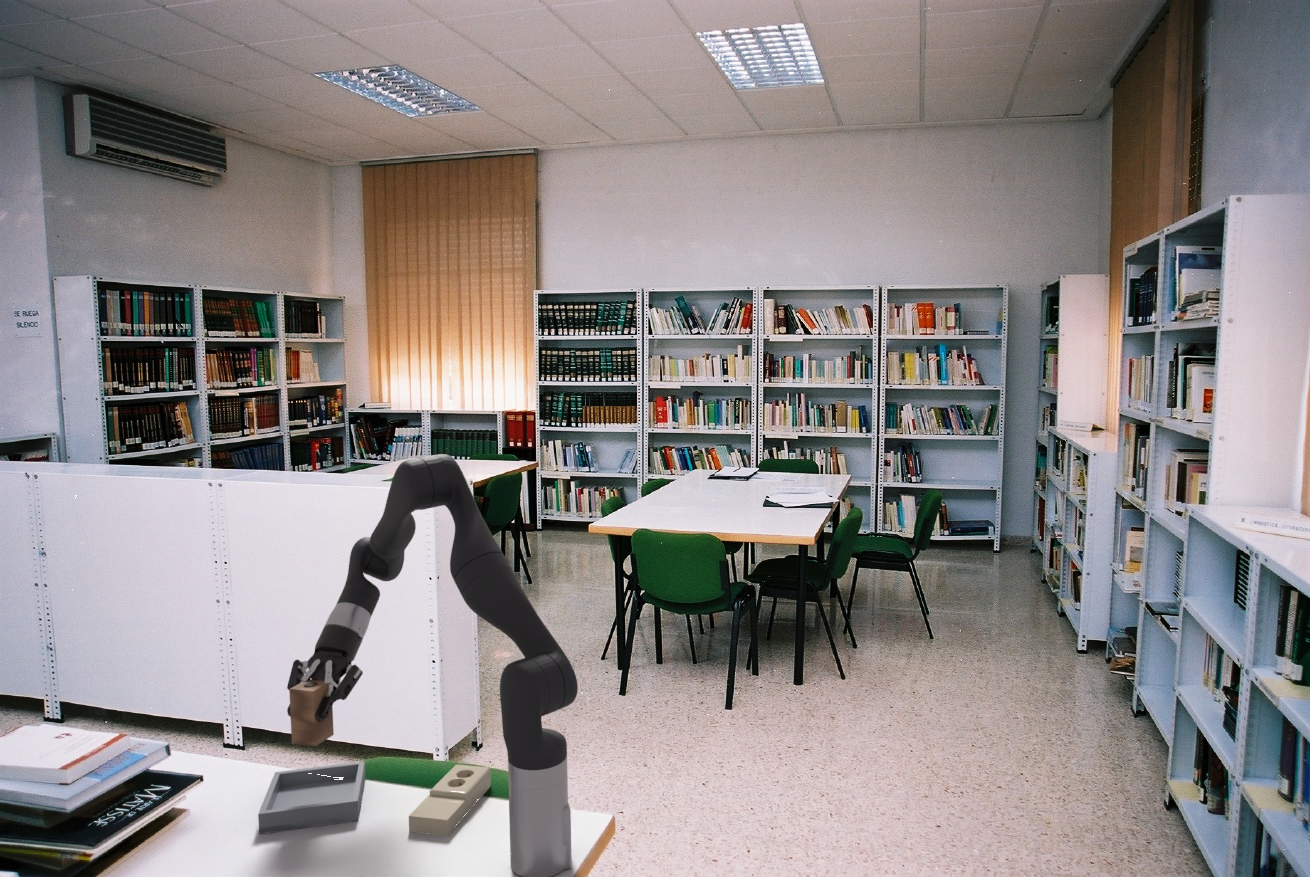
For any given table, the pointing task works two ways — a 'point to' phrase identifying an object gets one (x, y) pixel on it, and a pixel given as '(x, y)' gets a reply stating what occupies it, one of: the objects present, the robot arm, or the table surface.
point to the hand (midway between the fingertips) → (305, 717)
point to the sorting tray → (312, 797)
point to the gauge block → (309, 714)
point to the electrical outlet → (450, 800)
